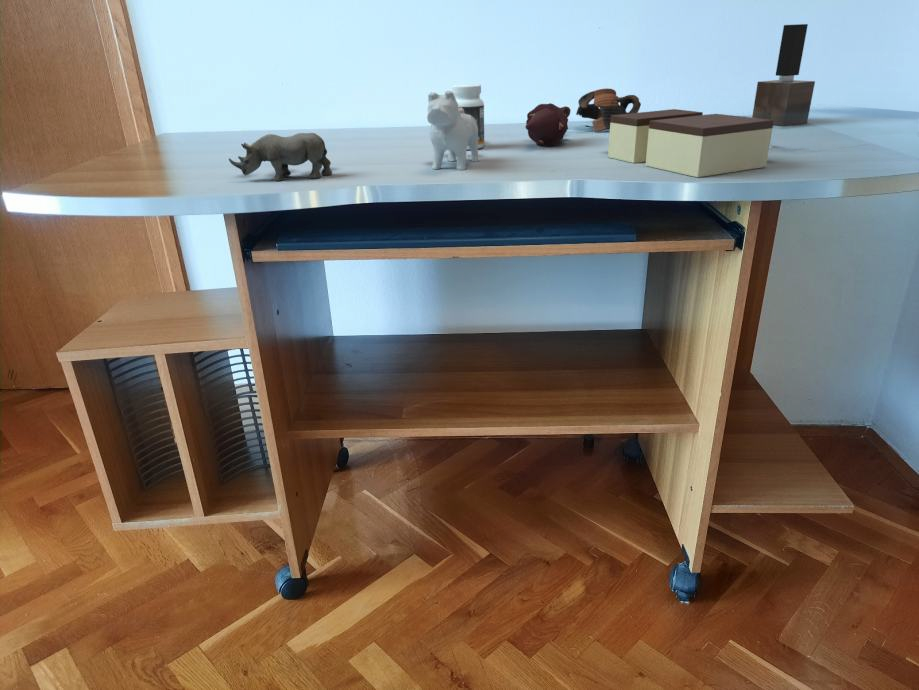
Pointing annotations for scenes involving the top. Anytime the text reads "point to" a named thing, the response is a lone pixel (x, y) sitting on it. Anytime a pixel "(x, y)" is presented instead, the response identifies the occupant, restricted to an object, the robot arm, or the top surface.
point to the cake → (708, 144)
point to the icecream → (547, 124)
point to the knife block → (783, 101)
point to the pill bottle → (471, 106)
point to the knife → (791, 51)
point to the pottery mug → (605, 107)
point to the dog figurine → (451, 130)
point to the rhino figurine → (285, 154)
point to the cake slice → (636, 133)
